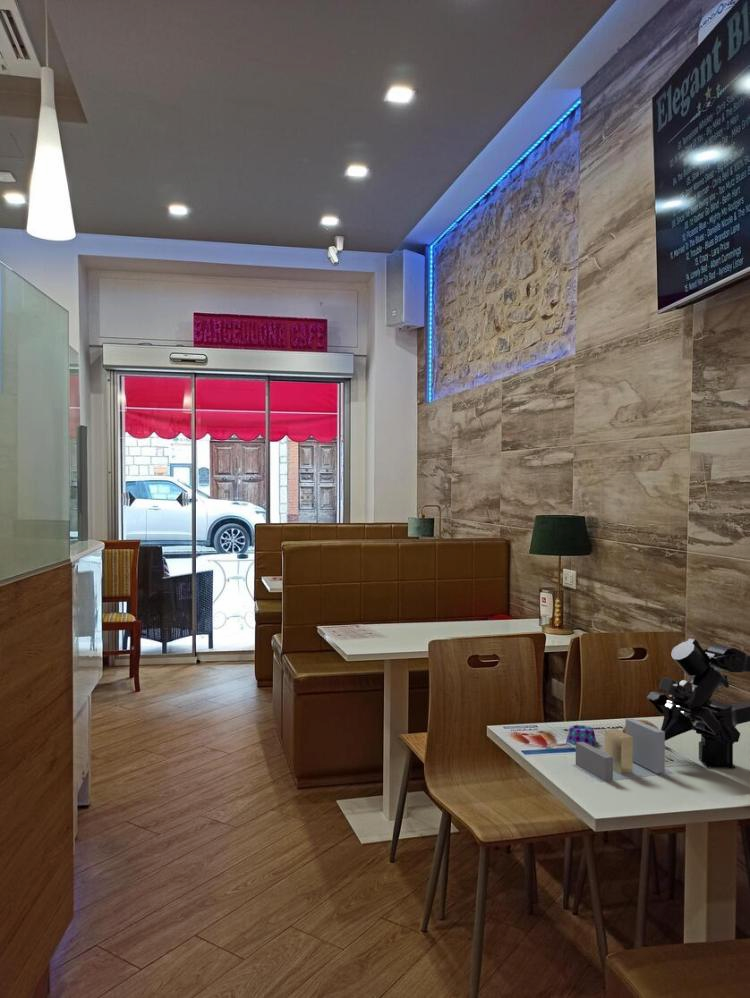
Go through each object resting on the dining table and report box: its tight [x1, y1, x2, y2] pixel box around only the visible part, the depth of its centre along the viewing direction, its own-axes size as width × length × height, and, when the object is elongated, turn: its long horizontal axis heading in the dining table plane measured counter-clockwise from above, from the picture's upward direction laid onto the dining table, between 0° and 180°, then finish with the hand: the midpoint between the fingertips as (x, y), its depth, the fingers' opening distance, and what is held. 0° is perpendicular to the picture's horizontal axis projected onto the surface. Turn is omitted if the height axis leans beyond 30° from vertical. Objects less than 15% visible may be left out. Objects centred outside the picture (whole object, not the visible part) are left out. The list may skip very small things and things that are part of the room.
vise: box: [571, 742, 674, 783], centre depth 167 cm, size 19×11×6 cm, turn 108°
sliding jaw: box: [625, 717, 666, 774], centre depth 169 cm, size 2×11×9 cm, turn 18°
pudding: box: [556, 724, 598, 747], centre depth 187 cm, size 12×12×5 cm
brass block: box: [604, 728, 633, 775], centre depth 167 cm, size 3×6×8 cm, turn 18°
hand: (660, 739), depth 170 cm, fingers closed
